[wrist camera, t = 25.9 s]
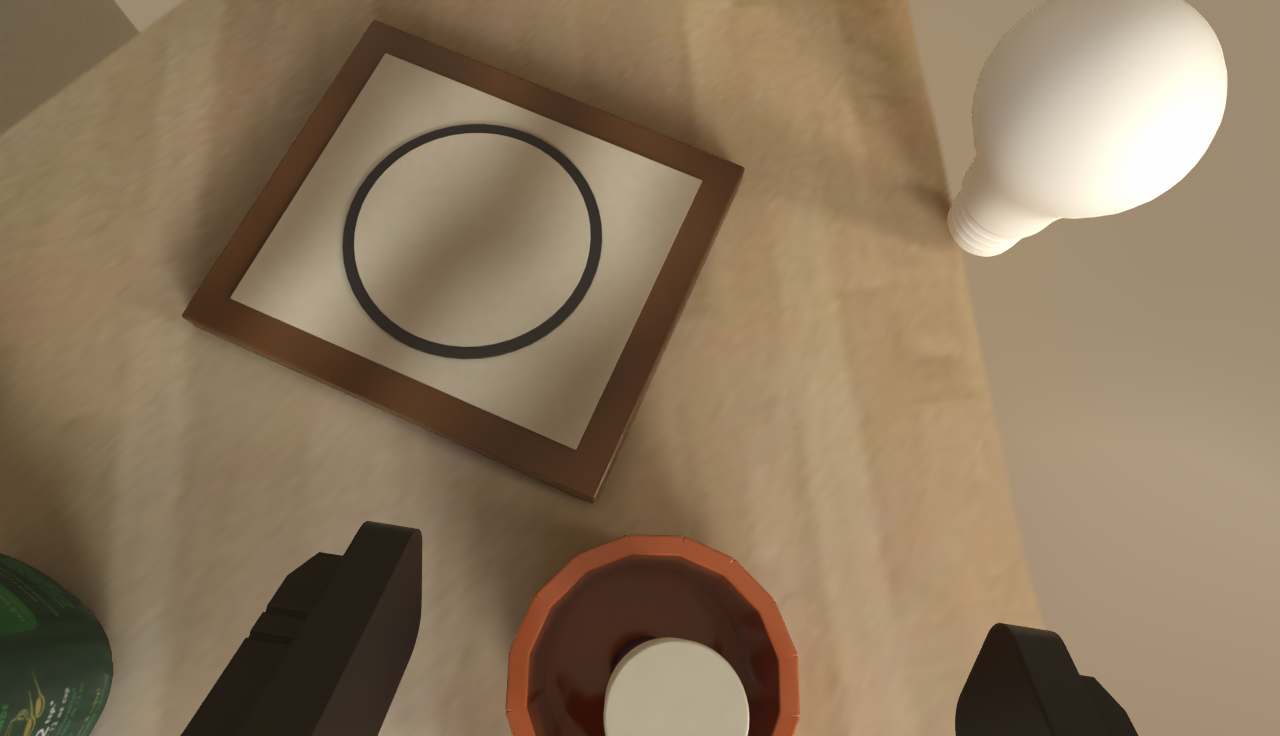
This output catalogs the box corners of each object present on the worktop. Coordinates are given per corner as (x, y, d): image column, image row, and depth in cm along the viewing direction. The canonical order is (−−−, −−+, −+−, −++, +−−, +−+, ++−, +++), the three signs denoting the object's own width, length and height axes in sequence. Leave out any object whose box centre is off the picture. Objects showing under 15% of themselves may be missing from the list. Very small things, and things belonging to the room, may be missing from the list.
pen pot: (490, 734, 25) (455, 766, 19) (588, 519, 27) (582, 490, 21) (706, 837, 24) (735, 902, 19) (790, 609, 26) (839, 604, 21)
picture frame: (194, 326, 29) (176, 313, 27) (380, 36, 32) (371, 13, 31) (595, 504, 27) (594, 499, 26) (741, 181, 31) (746, 163, 30)
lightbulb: (924, 330, 29) (1098, 165, 19) (865, 180, 31) (995, -48, 21) (1083, 290, 30) (1336, 108, 19) (1016, 145, 32) (1216, -94, 21)
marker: (594, 697, 25) (579, 758, 13) (626, 619, 26) (638, 615, 14) (668, 731, 25) (717, 823, 13) (699, 652, 25) (771, 675, 14)
